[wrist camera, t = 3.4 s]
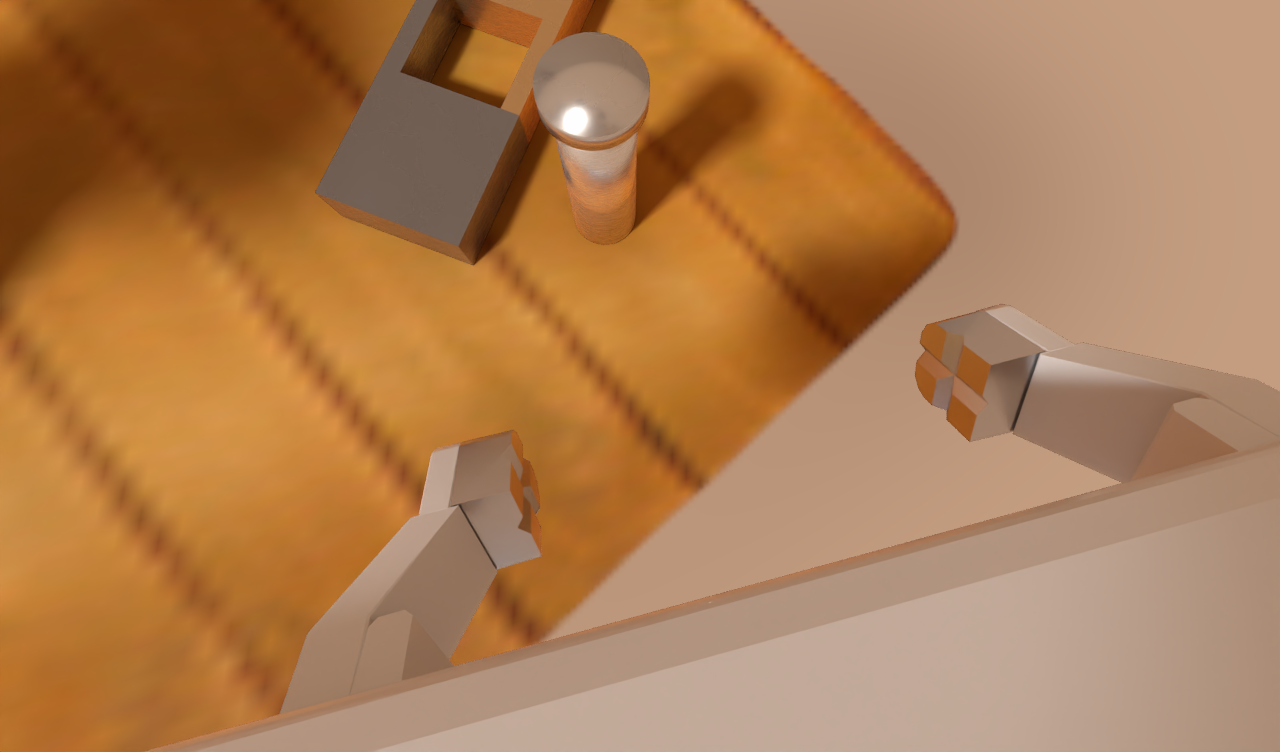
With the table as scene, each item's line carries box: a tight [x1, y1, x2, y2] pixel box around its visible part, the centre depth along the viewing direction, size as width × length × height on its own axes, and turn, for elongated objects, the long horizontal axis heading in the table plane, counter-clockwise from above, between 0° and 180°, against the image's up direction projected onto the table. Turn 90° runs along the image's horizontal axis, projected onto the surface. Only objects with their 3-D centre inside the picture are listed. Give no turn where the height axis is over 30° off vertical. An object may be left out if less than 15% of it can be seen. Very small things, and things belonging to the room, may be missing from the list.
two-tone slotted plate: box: [315, 0, 595, 265], centre depth 28 cm, size 20×7×2 cm, turn 159°
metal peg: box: [533, 32, 650, 245], centre depth 23 cm, size 4×4×10 cm
